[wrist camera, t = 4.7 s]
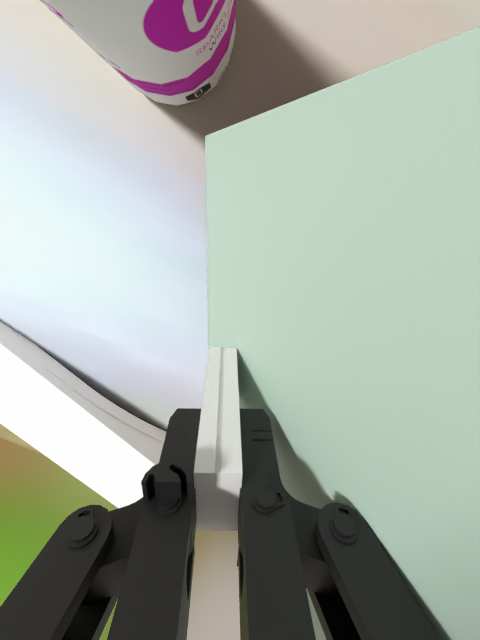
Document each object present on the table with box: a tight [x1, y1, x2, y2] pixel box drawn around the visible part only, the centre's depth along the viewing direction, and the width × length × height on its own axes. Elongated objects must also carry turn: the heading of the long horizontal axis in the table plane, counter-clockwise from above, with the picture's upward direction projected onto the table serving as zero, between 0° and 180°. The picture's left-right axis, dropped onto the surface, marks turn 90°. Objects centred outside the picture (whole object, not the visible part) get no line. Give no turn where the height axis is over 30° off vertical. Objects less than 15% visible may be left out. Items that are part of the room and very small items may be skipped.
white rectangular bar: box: [0, 322, 166, 508], centre depth 31 cm, size 10×7×28 cm
